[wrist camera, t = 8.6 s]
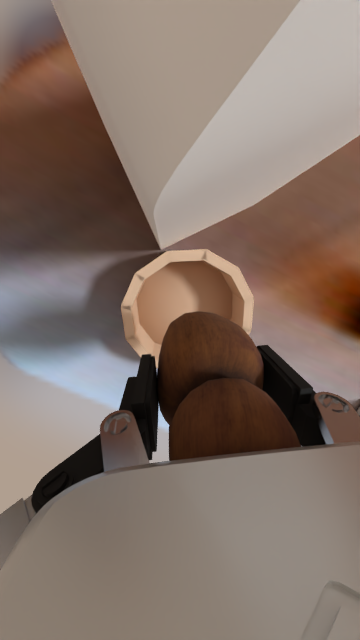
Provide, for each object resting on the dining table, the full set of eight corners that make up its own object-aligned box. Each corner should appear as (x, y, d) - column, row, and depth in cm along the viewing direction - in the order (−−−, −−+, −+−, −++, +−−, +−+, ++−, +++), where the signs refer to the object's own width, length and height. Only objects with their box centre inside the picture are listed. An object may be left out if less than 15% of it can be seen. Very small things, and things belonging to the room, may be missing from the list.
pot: (235, 350, 28) (247, 369, 24) (137, 358, 27) (131, 378, 23) (241, 247, 23) (258, 246, 19) (122, 252, 22) (112, 253, 18)
